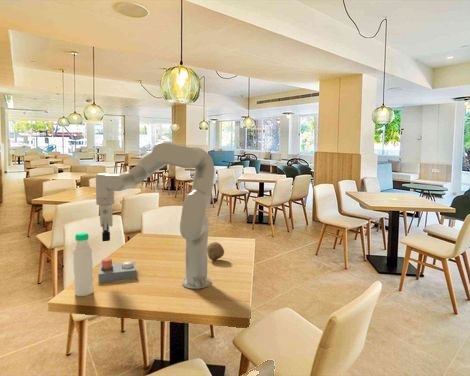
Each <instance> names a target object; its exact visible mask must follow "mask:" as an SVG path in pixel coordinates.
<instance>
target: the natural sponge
mask: <svg viewBox="0 0 470 376" xmlns="http://www.w3.org/2000/svg"><path fill="white" fill-rule="evenodd" d="M224 255H225V250H224V248H223V245H222V244H221V243H219V242H218V241H217V242H216V241H213V242H211V243H208V249H207V258H208V259H210V260H212V261H214V262H215V261H217V260H218V259H220V258H222V257H224Z"/></svg>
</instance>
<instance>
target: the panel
mask: <svg viewBox="0 0 470 376" xmlns="http://www.w3.org/2000/svg"><path fill="white" fill-rule="evenodd" d="M131 262H132V263H133V268H127V269H123V263H124V262H115V263H112V270H107V271H102V264H100V265H98V266H99V267H98V273H97V275H98V276H97V278H98V280H97V281H98V283H99V284H101V283H111V282H119V281H127V280H137V267H136V261H131Z"/></svg>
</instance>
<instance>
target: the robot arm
mask: <svg viewBox="0 0 470 376" xmlns="http://www.w3.org/2000/svg"><path fill="white" fill-rule="evenodd" d="M167 165H169V166H170V165H171V166H175V167H179V168H183V169H194V175H193V180H192V187H191V190H190V191H191V192H190V193H188V194H187V195H186V196H185V198H184V200H183V203H182V208H181V214H180V215H181V217H180V222H179V232H180V235H181V237H182V238H183V239H185V277H184V278H183V279H182V280H181V282H182V283H181V284H182V286H183V287H184V288H186V289H191V290H200V289H204V288H207V287H209V286H210V285H211V283H212V281H211V278H210V277H208V252H207V249H208V245H209V241H208V240H209V229H210V228H209V227H210V224H209V220H208V218H207V216H206V210H208V208H210V206H211V201H212V194H213V193H212V192H213V186H214V185H213V184H214V177H215V164H214V161H213V158H212V156H211V155H210V153H208V152H207V150H205V149H203V148H200V147H198V146H197V147H195V146H193V147H189V146H183V145H179V144H175V143H174V142H171V141H159V142H157V143H155V145H153V147H152V150H151V151H149V152H147V153H145V154H144V155H142V156H141V157H140V158H139V162H138V163H137V164H136V165H135V166H134V167H132V168H131V169H129V170H128V171H126V172H121V173H115V174H113V173H110V172H100V173H96V174H95V204H96V205H97V206H98V207H99V211H98V212H99V224H100V227H101V228H102V232H101V235H102V236H101V238H102V242H110V240H111V231H110V227H111V228H112V227H113V220H114V219H113V206H114V205H115V192H122V191H125V190H130V189H132V188H134V187H135V186H137V185H138V184H140V183H142V182H143V181H144V180H147V179H148V178H149V177H151V176H152V175H153V174H155V173H156V172H158V171H159V170H160V169H162V168H164V167H166V166H167Z"/></svg>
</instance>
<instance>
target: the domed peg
mask: <svg viewBox="0 0 470 376" xmlns="http://www.w3.org/2000/svg"><path fill="white" fill-rule="evenodd" d="M132 262H133V261H124V262H122V263H123V269H127V268H133V263H132Z"/></svg>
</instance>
